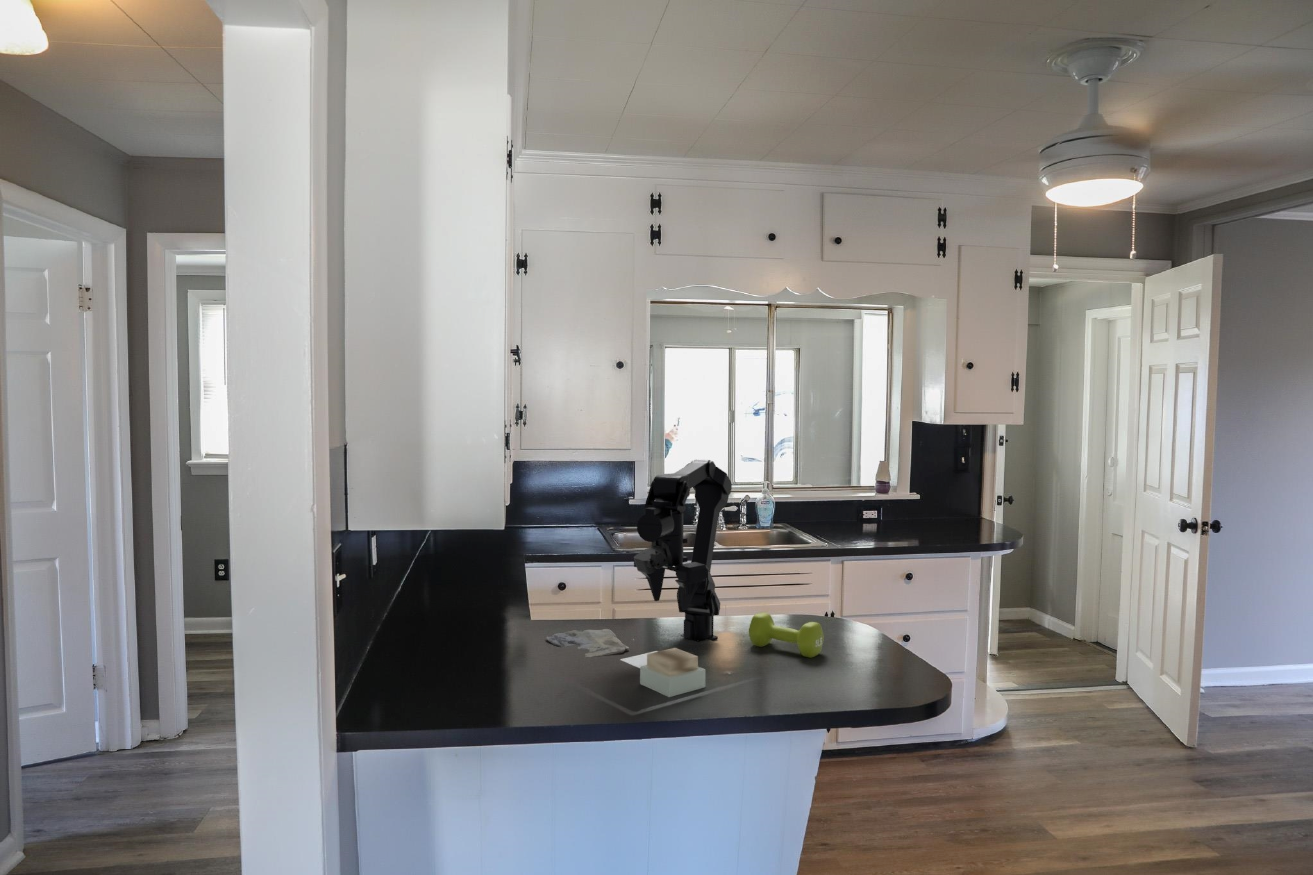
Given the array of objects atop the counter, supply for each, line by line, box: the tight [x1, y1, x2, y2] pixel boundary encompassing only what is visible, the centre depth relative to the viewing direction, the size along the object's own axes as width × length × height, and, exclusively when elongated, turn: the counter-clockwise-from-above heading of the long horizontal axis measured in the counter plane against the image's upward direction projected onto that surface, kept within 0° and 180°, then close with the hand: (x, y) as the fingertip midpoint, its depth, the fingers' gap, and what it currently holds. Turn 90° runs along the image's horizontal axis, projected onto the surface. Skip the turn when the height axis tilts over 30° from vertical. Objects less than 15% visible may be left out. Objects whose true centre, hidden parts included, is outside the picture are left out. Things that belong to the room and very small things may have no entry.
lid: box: [647, 647, 699, 676], centre depth 161 cm, size 7×7×2 cm
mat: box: [619, 650, 659, 669], centre depth 176 cm, size 10×10×1 cm
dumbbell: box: [748, 612, 825, 659], centre depth 187 cm, size 16×8×7 cm, turn 52°
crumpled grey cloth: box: [546, 628, 630, 658], centre depth 188 cm, size 18×15×2 cm
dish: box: [639, 665, 707, 698], centre depth 161 cm, size 9×9×4 cm
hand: (670, 605), depth 179 cm, fingers open, 9 cm apart
